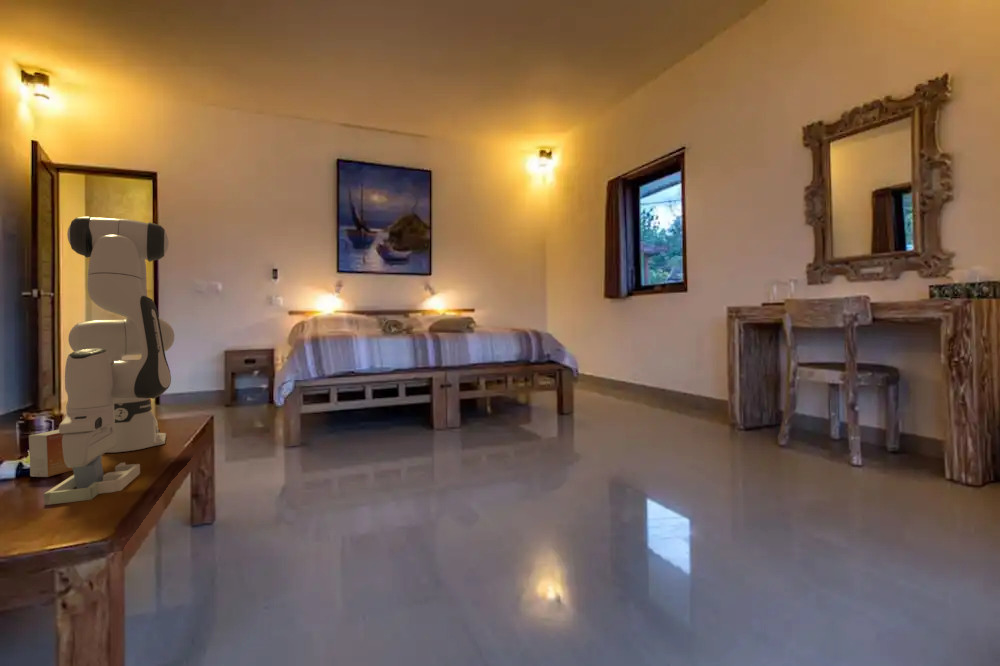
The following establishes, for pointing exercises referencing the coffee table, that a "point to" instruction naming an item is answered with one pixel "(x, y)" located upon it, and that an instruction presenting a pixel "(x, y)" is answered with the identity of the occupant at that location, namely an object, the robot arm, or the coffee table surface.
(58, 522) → the coffee table surface
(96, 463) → the slate block
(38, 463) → the small box
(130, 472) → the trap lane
